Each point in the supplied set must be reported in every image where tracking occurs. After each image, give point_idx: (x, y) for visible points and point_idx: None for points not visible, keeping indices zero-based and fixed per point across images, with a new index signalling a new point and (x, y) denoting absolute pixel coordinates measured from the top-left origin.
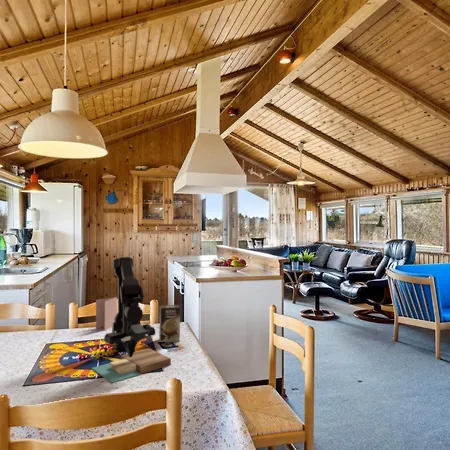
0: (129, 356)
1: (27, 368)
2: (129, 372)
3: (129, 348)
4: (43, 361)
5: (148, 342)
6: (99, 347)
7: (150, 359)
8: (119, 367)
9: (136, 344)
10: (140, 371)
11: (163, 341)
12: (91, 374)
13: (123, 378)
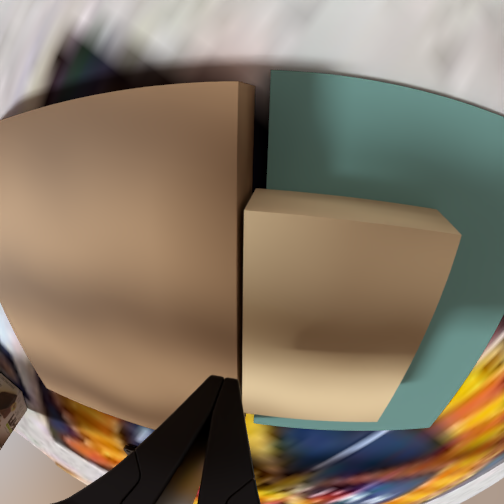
0: (239, 392)
1: (486, 476)
2: (346, 193)
3: (238, 495)
4: (430, 496)
5: (60, 424)
6: None
7: (52, 233)
8: (435, 292)
9: (89, 489)
10: (250, 97)
11: (10, 386)
12: (491, 369)
13: (476, 112)
